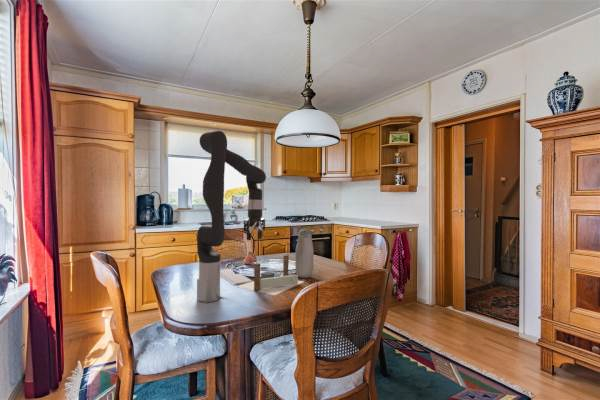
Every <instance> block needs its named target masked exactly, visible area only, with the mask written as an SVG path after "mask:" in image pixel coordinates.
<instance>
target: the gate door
mask: <svg viewBox="0 0 600 400" xmlns="http://www.w3.org/2000/svg"><path fill="white" fill-rule="evenodd" d="M298 281H299V276H298V275H297V274H290V275H289V274H288V276H281V275H280V276H277V277H272V278H264V279H261V278H260V289H264V288H272V287H279V286H286V285H294V284H298ZM298 285H299V284H298Z"/></svg>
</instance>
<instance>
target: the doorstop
mask: <svg viewBox="0 0 600 400" xmlns="http://www.w3.org/2000/svg"><path fill="white" fill-rule="evenodd" d="M274 276H275V272H272V271H264V272H262V273H261V272H260V279H264V278H272V277H274Z"/></svg>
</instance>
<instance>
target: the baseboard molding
mask: <svg viewBox="0 0 600 400" xmlns="http://www.w3.org/2000/svg"><path fill="white" fill-rule="evenodd" d="M231 269H233V266H232V267H231V266H230V268H224V267H221V269H220V278H221V277H222V279H224V280H226V281H227V282H229V283H230V284H231V285H232V284H233V285H232V286H240V285H244V284H247V283H249V282H252V281H253V280H251V279H250V278H249V277H247V276H245V275H244V276H243V274H242V275H238V274H235V273H234V272H233V271H232V270H231Z"/></svg>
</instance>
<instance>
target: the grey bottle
mask: <svg viewBox="0 0 600 400" xmlns="http://www.w3.org/2000/svg"><path fill="white" fill-rule="evenodd" d="M314 249H315V248H314V244H313V238H312V231H311V230H310V229H308V228H302V229H300V230H299V232H298V236H297V243H296V247H295V257H294V258H295V273H296V275H298V278H301V279H308V278H309V277H311V276H312V275H313V272H314V254H315V253H314V251H315V250H314Z"/></svg>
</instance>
